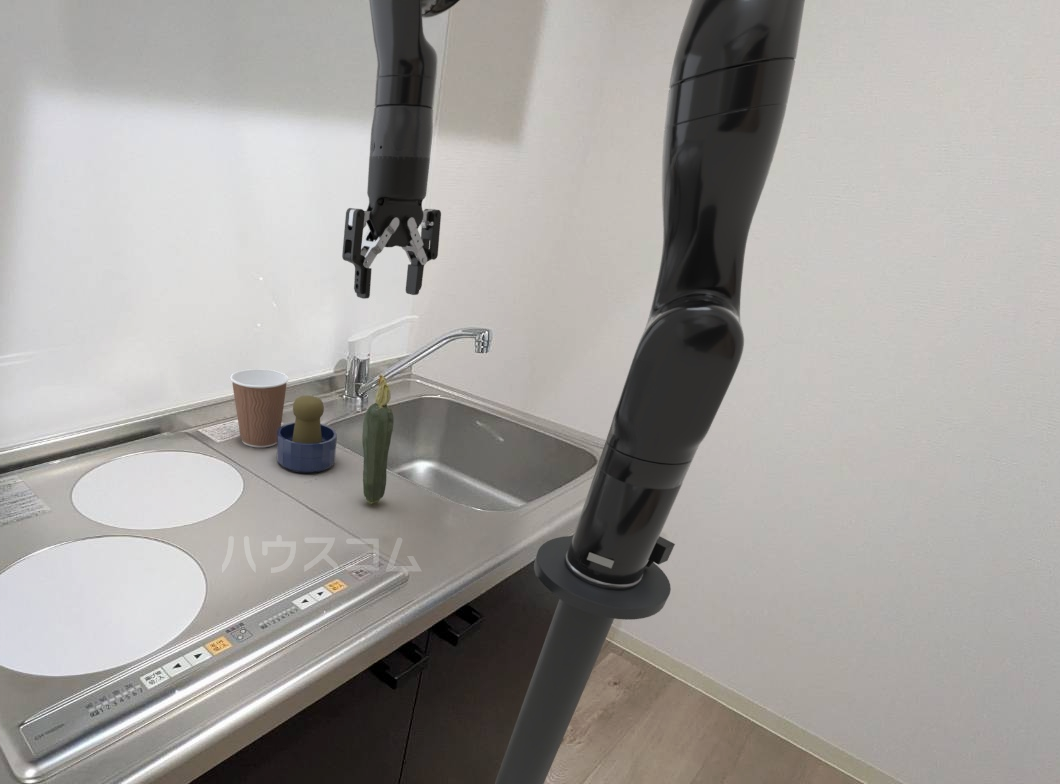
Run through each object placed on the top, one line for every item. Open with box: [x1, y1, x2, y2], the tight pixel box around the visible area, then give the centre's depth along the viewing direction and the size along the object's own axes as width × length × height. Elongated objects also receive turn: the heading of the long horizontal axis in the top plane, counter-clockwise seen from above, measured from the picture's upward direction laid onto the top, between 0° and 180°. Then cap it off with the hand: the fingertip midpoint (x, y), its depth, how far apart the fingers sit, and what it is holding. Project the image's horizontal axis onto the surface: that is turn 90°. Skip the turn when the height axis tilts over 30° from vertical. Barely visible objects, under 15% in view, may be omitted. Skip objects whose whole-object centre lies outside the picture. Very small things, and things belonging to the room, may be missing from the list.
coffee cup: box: [229, 368, 290, 449], centre depth 106 cm, size 10×10×12 cm
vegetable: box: [361, 374, 395, 505], centre depth 85 cm, size 4×4×20 cm
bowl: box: [276, 421, 338, 474], centre depth 101 cm, size 10×10×6 cm
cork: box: [292, 395, 325, 444], centre depth 99 cm, size 6×6×11 cm
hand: (388, 295), depth 81 cm, fingers open, 8 cm apart
